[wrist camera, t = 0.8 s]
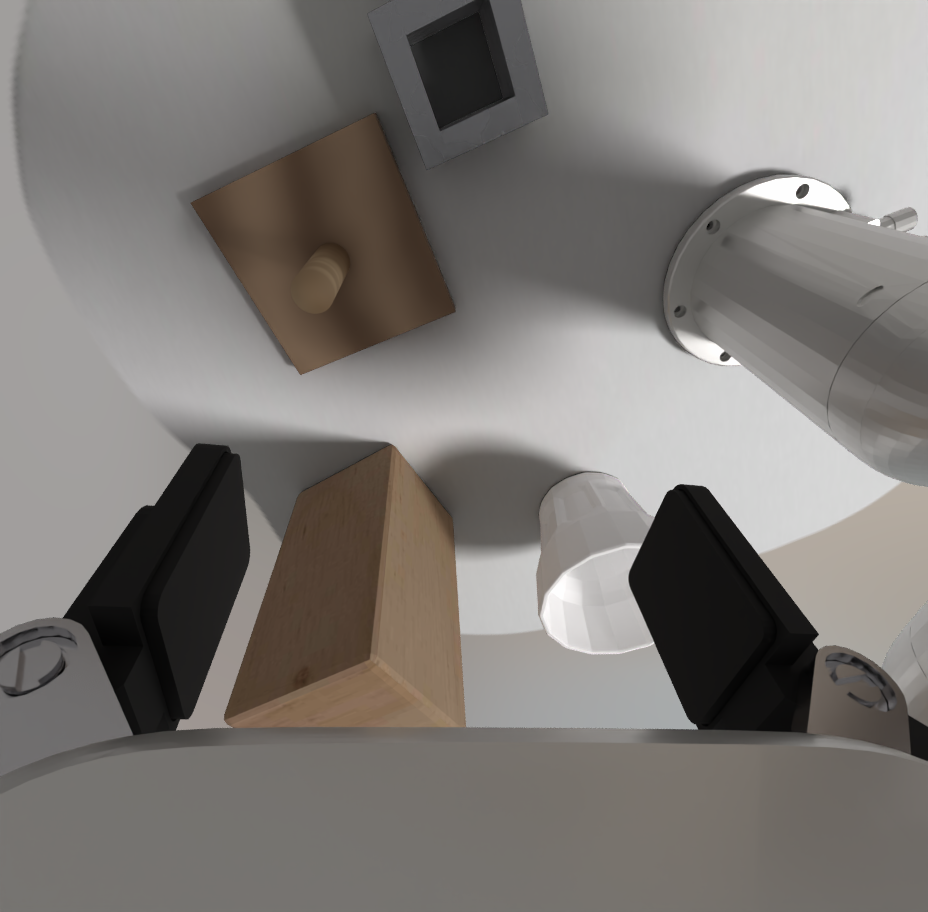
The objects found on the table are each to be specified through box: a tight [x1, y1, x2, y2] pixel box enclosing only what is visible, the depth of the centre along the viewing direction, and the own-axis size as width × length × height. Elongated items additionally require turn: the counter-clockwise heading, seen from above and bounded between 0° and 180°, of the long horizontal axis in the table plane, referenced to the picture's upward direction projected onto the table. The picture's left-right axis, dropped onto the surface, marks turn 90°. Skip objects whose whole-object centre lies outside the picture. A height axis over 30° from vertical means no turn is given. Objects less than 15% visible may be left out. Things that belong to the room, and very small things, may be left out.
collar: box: [367, 0, 548, 170], centre depth 26 cm, size 7×7×5 cm
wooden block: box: [224, 445, 466, 728], centre depth 37 cm, size 10×10×20 cm
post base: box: [191, 113, 456, 375], centre depth 30 cm, size 12×12×8 cm
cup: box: [536, 472, 655, 654], centre depth 42 cm, size 12×12×11 cm
